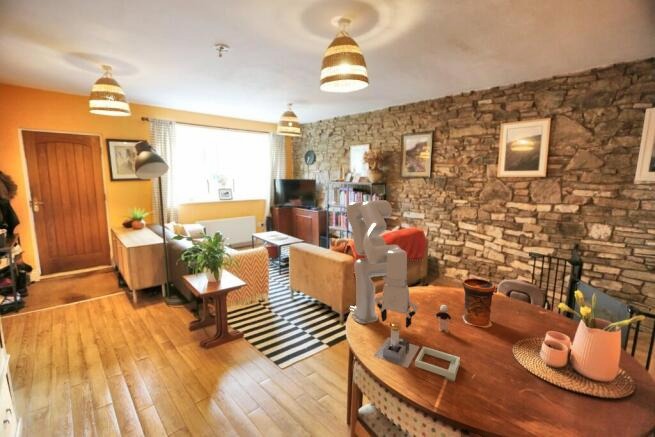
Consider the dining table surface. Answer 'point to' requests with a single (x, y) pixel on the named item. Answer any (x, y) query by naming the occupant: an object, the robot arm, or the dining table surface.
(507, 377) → the dining table surface
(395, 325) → the pin
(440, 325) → the grandmother figurine
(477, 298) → the vessel
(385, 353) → the tensioner block
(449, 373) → the rectangular frame
